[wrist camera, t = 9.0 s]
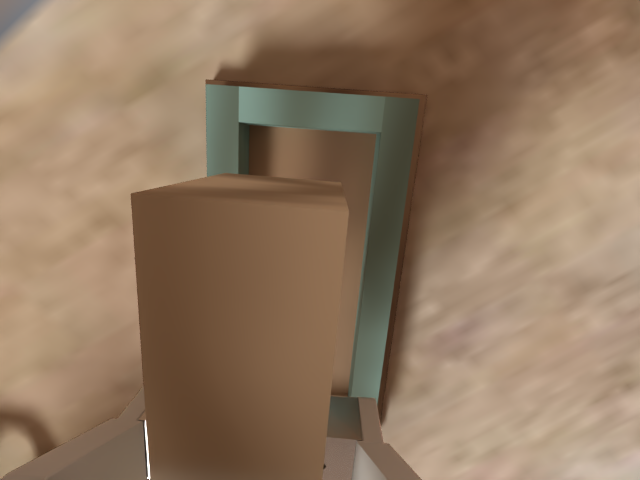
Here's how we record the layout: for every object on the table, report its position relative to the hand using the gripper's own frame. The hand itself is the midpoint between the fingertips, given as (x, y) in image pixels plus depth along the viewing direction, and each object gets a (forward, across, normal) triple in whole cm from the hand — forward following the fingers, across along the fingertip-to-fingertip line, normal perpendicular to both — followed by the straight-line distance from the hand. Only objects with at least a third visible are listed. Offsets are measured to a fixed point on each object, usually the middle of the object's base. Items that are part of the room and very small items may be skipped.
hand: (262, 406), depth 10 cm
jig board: (+11, 0, 0) cm, 11 cm away
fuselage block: (+2, 0, 0) cm, 2 cm away
